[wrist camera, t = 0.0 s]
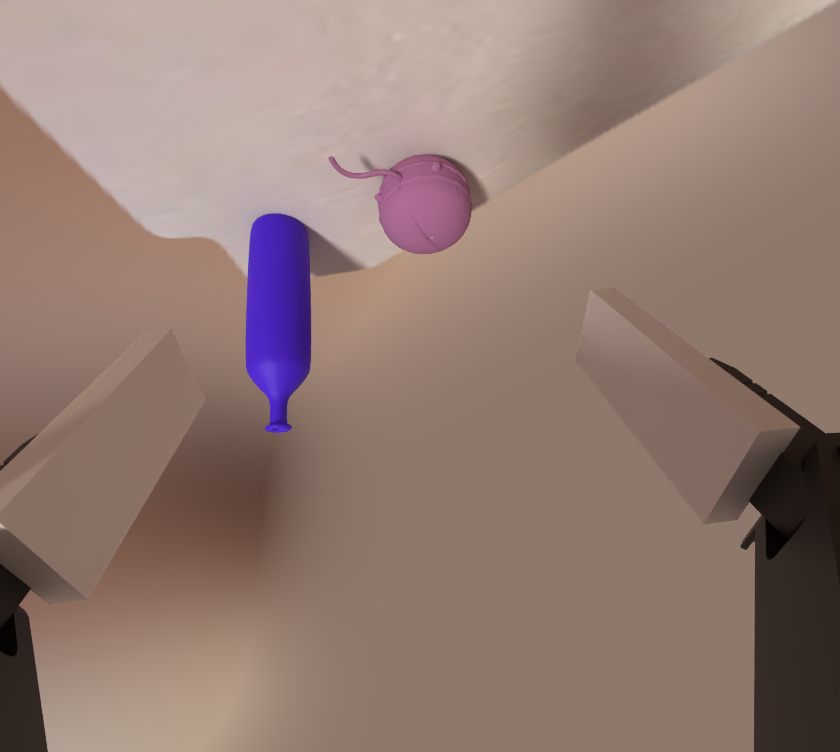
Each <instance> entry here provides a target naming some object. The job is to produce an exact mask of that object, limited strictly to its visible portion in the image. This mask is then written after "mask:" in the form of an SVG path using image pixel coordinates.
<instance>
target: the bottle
mask: <svg viewBox="0 0 840 752" xmlns="http://www.w3.org/2000/svg"><path fill="white" fill-rule="evenodd" d="M310 362H311V292H310V259H309V242H308V235H307V231H306V229H305V228H304V226H303V225H302V224H301V223H300V222H299V221H297V220H296V219H294V218H292V217H290V216H287V215H283V214H266V215H263V216H261V217H259V218H258V219H257V220H256V221H255V222H254V223H253V225H252V229H251V235H250V246H249V263H248V286H247V310H246V368H247V372H248V374H249V376H250V377H251V379H252V380H253V381H254V383H255V384H256V385H257V386H258V387H259V388H260V390H261V391H262V392H264V393H265V395H266V396H267V397H268V399H269V402H270V423H269V425H268V426H266V427H265V430H266V431H268V432H274V433H275V432H277V433H278V432H286V431H289V430H290V429H291V425H289V424H287V402H288V399H289V397H290V396H291V395H292V394H293V392H295V390H296V389H297V388H298V387H299V386H300V385H301V384H302V382H303V381H304V380H305V379H306V377H307V375H308V374H309V370H310Z"/></svg>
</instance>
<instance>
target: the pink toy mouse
mask: <svg viewBox="0 0 840 752" xmlns="http://www.w3.org/2000/svg"><path fill="white" fill-rule="evenodd" d="M329 161H330V162H331V164H332V166H333V167H334V168H335V169H336V170H337V171H338V172H339V173H341V174H342V175H344V176H346V177H349V178H369V177H373V176H378V175H386V176H385V177H384V179H383V182H382V184H381V186H380V191H379V194H376V195H375V199H376V200H377V201H378V208H379V215H380V217H379V220H380V223H381V225H382V227H383V229H384V232H385V233H386V235H387V236H388V238H389V239H390V240H391V241H392V242H393V243H394V244H395V245H397V246H398V247H399V248H401V249H403V250H406V251H408V252H412V253H417V254H431V253H435V252H439V251H442V250H444V249H447V248H448V247H450V246H452V245H453V244H454V243H456V242H457V241H458V240H459V239H460V238H461V236H463V234H464V233H465V231H466V229H467V227H468V225H469V222H470V217H471V211H472V203H471V200H470V192H469V188H468V184H467V181H466V179H465V178H464V177H463V175H462V173H461V172H460V171H459V169H458V168H457V167H456V166H454V165H453V164H452V163H451V162H449V161H448V160H446V159H444V158H441V157H438V156H434V155H416V156H412V157H409V158H406V159H404V160H402V161H400V162H399V163H397V164H396V165H395V166H393V167H392V168H391V169H390V170H389V171H388V170H375V171H371V172H366V173H351V172H347V171H345V170H344V169H342V168H341V167H340V166H339V165H338V164H337V162H336V161H335V159H334V157H329Z"/></svg>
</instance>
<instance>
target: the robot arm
mask: <svg viewBox="0 0 840 752" xmlns="http://www.w3.org/2000/svg"><path fill="white" fill-rule="evenodd" d="M576 363H577V364H578V366H579V367H580V368H581V369H582V371H583V372H584V373H585V374H586V376H587V377H588V378H589V379H590V381H591V382H592V383H593V385H594V386H595V387H596V388H597V390H598V391H599V392H600V393H601V395H602V396H603V397H604V398H605V400H606V401H607V402H608V404H609V405H610V406H611V407H612V408H613V410H614V411H615V412H616V413H617V415H618V416H619V417H620V419H621V420H622V421H623V423H624V424H625V425H626V426H627V428H628V429H629V430H630V431H631V433H632V434H633V435H634V437H635V438H636V439H637V440H638V441H639V443H640V444H641V445H642V446H643V448H644V449H645V450H646V452H647V453H648V454H649V456H650V457H651V458H652V459H653V461H654V462H655V463H656V464H657V466H658V467H659V468H660V469H661V471H662V472H663V473H664V474H665V476H666V477H667V478H668V480H669V481H670V482H671V483H672V485H673V486H674V487H675V488H676V490H677V491H678V492H679V494H680V495H681V496H682V497H683V499H684V500H685V501H686V502H687V504H688V505H689V506H690V508H691V509H692V510H693V511H694V513H695V514H696V515H697V516H698V518H699V519H700V520H701V521H702V523H703V524H708V523H716V522H724V521H732V520H737V519H738V518H739V516H740V515H741V513H742V512H743V510H744V509H745V508H746V506H747V505H748V503H749V502H750V503H751V504H752V505H753V506H754V507H755V508H756V509H757V510H758V511H759V512H760V513H761V514H762V515H761V517H760V518H759V519H758V521H757V522H756V523H755V525H754V526H753V528H752V529H751V530H750V531H749V533H748V534H747V535H746V537H745V538H744V540H743V542H742V544H741V548H743V549H746V550H747V548H748V547H749V546H750V545H751V543H752V542H754V541H755V681H754V682H755V683H754V684H755V685H754V687H755V688H754V689H755V691H754V752H840V433H827V434H826V433H824V432H823V431H821V430H820V429H819V428H817V427H816V426H815V425H813V424H812V423H810V422H809V421H808V420H806V419H805V418H804V417H802V416H801V415H799V414H798V413H797V412H795V411H794V410H792V409H791V408H790V407H788V406H787V405H785V404H784V403H783V402H781V401H780V400H779V399H777V398H776V397H774V396H773V395H772V394H767V391H766V390H765V389H763V388H762V387H761V386H759V385H758V384H756V383H754V384H753V383H752V380H751V379H749V378H748V377H747V376H745V375H744V374H743V373H741V372H740V371H738V370H737V369H735V368H734V367H731V366H729V365H727V364H725V363H723V362H720V361H718V360H715V359H713V358H707V357H706V356H705V355H703V354H702V353H701V352H699V351H698V350H697V349H695V348H694V347H693V346H691V345H690V344H689V343H687V342H686V341H685V340H683V339H682V338H681V337H679V336H678V335H677V334H675V333H674V332H673V331H671V330H670V329H669V328H667V327H666V326H665V325H663V324H662V323H660V322H659V321H658V320H657V319H655V318H654V317H653V316H651V315H650V314H649V313H647V312H646V311H645V310H643V309H642V308H641V307H639V306H638V305H637V304H635V303H634V302H633V301H631V300H630V299H629V298H627V297H626V296H625V295H623V294H622V293H621V292H619V291H618V290H617V289H615V288H614V287H611V288H600V289H591V290H590V294H589V299H588V303H587V308H586V313H585V318H584V323H583V328H582V333H581V338H580V343H579V348H578V352H577V357H576ZM204 401H205V398H204V396H203V394H202V391H201V390H200V387H199V385H198V384H197V381H196V379H195V377H194V375H193V373H192V371H191V369H190V367H189V365H188V363H187V361H186V358H185V357H184V354H183V352H182V350H181V348H180V346H179V344H178V342H177V340H176V338H175V336H174V334H173V332H172V330H171V329H167V330H157V331H146V332H145V333H144V334H143V335H141V336H140V337H139V338H138V339H137V340H136V341H135V342H134V343H133V344H132V345H131V346H130V347H129V348H128V349H127V350H126V351H125V352H124V353H123V354H122V355H121V356H120V357H119V358H118V359H116V361H114V362H113V363H112V364H111V365H110V366H109V367H108V368H107V369H106V370H105V371H104V372H103V373H102V374H101V375H100V376H99V377H98V378H97V379H96V380H95V381H94V382H93V383H92V384H90V385H89V386H88V387H87V388H86V389H85V390H84V391H83V392H82V393H81V394H80V395H79V396H78V397H77V398H76V399H75V400H74V401H73V402H72V403H71V404H70V405H69V406H68V407H67V408H65V409H64V411H62V412H61V413H60V414H59V415H58V416H57V417H56V418H55V419H54V420H53V421H52V422H51V423H50V424H49V425H48V426H47V427H46V428H45V429H44V430H43V431H42V432H40V433H39V434H37V435H36V436H34V437H33V438H31V439H30V440H28V441H26V442H25V443H23V444H22V445H21V446H20V447H19V448H18V449H17V450H16V451H15V452H13V453H12V454H11V455H10V457H8V458H7V459H6V460H5V461H4V462H3V463H4V465H1V466H0V752H48V750H47V743H46V736H45V729H44V722H43V714H42V708H41V700H40V693H39V686H38V679H37V672H36V665H35V658H34V651H33V644H32V637H31V630H30V623H29V617H28V615H27V613H26V612H25V610H24V609H22V608H21V607H20V606H19V604H20V603H21V601H22V600H23V599H24V597H25V596H26V595H27V593H28V592H29V590H32V591H33V592H34V593H36V594H37V595H38V596H39V597H41V598H42V599H43V600H45V601H46V602H47V603H48V604H54V603H61V602H70V601H78V600H86V599H88V598H89V596H90V595H91V593H92V591H93V589H94V588H95V586H96V584H97V583H98V581H99V579H100V577H101V575H102V574H103V573H104V571H105V569H106V567H107V566H108V564H109V562H110V561H111V559H112V557H113V556H114V554H115V552H116V550H117V549H118V547H119V545H120V544H121V542H122V540H123V539H124V537H125V535H126V533H127V532H128V530H129V528H130V527H131V525H132V523H133V522H134V520H135V518H136V517H137V515H138V513H139V511H140V510H141V508H142V506H143V505H144V503H145V501H146V500H147V498H148V496H149V495H150V493H151V491H152V489H153V488H154V486H155V484H156V483H157V481H158V479H159V478H160V476H161V474H162V473H163V471H164V469H165V467H166V466H167V464H168V462H169V461H170V459H171V457H172V455H173V454H174V452H175V450H176V449H177V447H178V445H179V444H180V442H181V440H182V439H183V437H184V435H185V434H186V432H187V430H188V428H189V427H190V425H191V423H192V422H193V420H194V418H195V417H196V415H197V413H198V411H199V410H200V408H201V406H202V405H203V403H204Z"/></svg>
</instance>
